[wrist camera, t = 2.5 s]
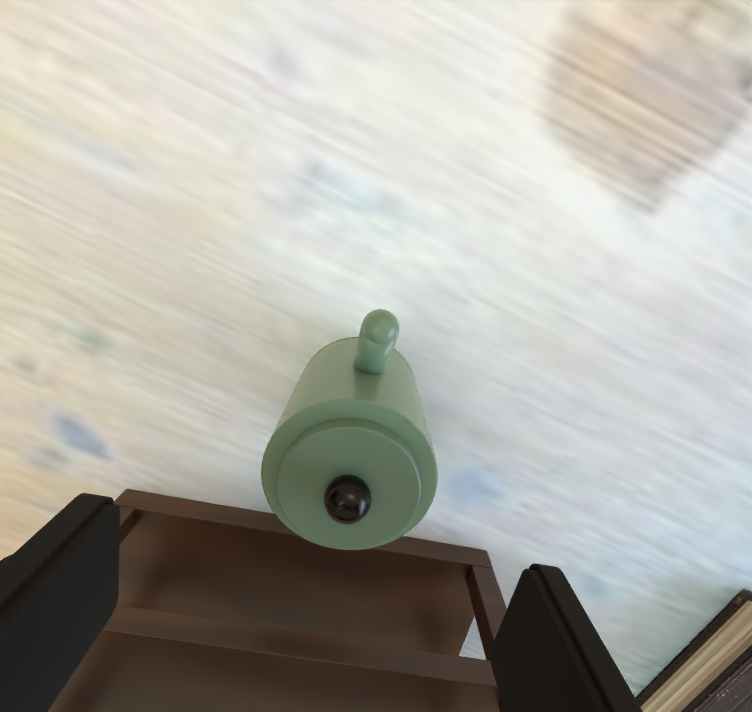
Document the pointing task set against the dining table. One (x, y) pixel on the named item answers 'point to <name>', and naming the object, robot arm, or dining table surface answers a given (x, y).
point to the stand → (284, 620)
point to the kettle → (353, 445)
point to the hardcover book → (709, 668)
